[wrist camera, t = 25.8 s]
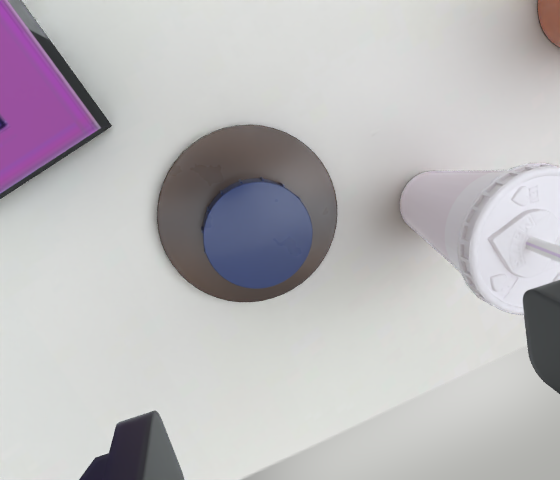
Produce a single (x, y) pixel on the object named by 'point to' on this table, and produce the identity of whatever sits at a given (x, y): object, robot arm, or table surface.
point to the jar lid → (256, 233)
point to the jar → (550, 19)
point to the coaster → (228, 170)
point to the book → (38, 101)
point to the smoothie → (491, 227)
